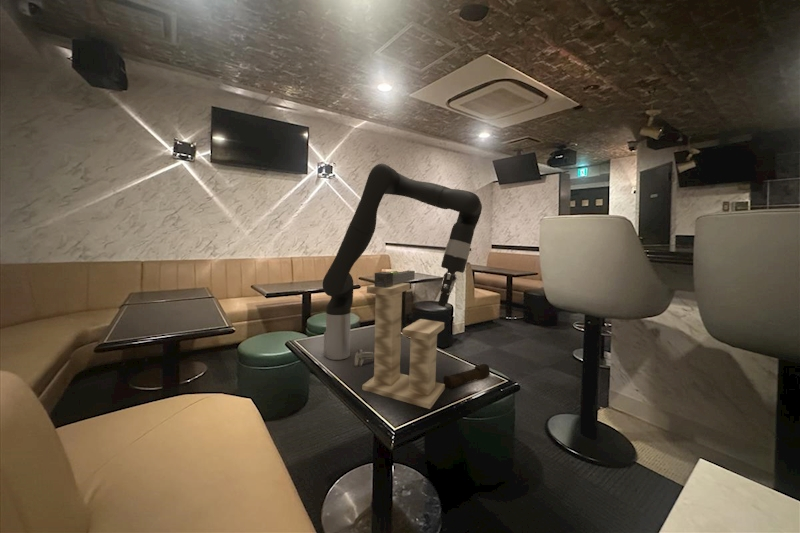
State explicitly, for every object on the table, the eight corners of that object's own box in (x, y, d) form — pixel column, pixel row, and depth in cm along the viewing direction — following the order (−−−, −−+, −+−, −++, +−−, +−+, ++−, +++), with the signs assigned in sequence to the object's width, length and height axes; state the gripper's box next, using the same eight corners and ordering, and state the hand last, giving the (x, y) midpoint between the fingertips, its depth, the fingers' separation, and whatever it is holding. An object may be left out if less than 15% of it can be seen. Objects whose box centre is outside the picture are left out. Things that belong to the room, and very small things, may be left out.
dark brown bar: (450, 391, 94) (450, 377, 94) (442, 385, 98) (443, 371, 97) (495, 379, 103) (495, 366, 103) (486, 374, 107) (487, 362, 106)
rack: (362, 389, 93) (363, 285, 90) (383, 373, 105) (385, 281, 102) (429, 409, 84) (434, 293, 81) (444, 388, 95) (449, 287, 92)
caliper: (355, 368, 109) (356, 351, 109) (354, 367, 110) (354, 350, 110) (400, 355, 122) (401, 340, 121) (399, 354, 123) (399, 339, 122)
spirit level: (374, 286, 90) (374, 273, 90) (406, 278, 110) (406, 267, 109) (386, 287, 88) (386, 274, 88) (416, 279, 108) (416, 268, 108)
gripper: (446, 254, 106) (434, 299, 106) (442, 251, 92) (428, 303, 92) (467, 259, 104) (455, 305, 104) (467, 257, 90) (452, 310, 91)
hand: (442, 304), depth 98 cm, fingers open, 8 cm apart
